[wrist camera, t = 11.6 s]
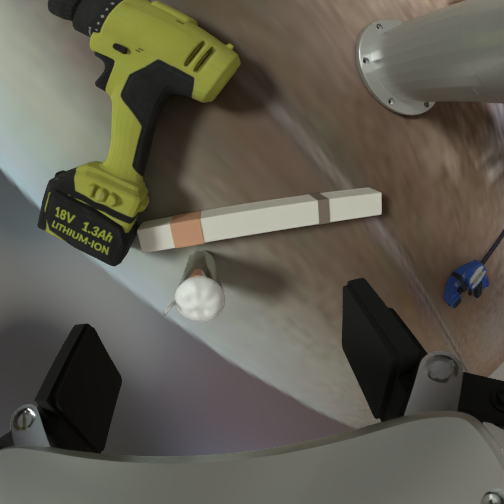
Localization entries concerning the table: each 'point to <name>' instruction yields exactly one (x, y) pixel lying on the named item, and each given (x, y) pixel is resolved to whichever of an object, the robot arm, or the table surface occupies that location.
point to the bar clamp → (468, 279)
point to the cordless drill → (129, 114)
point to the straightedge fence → (257, 218)
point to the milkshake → (199, 289)
